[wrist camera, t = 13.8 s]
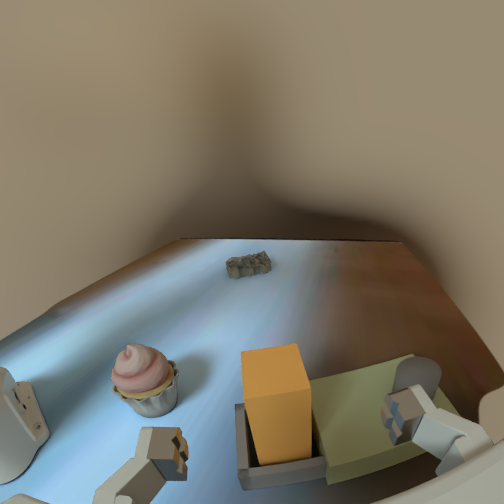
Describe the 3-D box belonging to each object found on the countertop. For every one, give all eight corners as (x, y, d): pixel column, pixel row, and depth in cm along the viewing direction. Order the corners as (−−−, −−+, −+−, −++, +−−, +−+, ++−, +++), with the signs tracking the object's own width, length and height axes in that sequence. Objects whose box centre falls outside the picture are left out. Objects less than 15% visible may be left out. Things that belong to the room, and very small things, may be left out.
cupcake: (115, 397, 37) (87, 341, 33) (169, 372, 42) (149, 315, 39) (138, 438, 29) (104, 379, 26) (201, 406, 35) (180, 345, 32)
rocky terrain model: (229, 281, 72) (226, 265, 71) (227, 270, 79) (224, 255, 78) (273, 273, 73) (271, 257, 72) (267, 262, 80) (265, 248, 79)
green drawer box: (450, 440, 22) (471, 398, 20) (243, 498, 22) (230, 466, 19) (407, 376, 33) (416, 334, 31) (238, 414, 33) (228, 373, 31)
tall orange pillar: (311, 464, 24) (310, 388, 21) (261, 472, 24) (243, 398, 21) (301, 423, 30) (296, 343, 26) (257, 430, 30) (240, 351, 26)
